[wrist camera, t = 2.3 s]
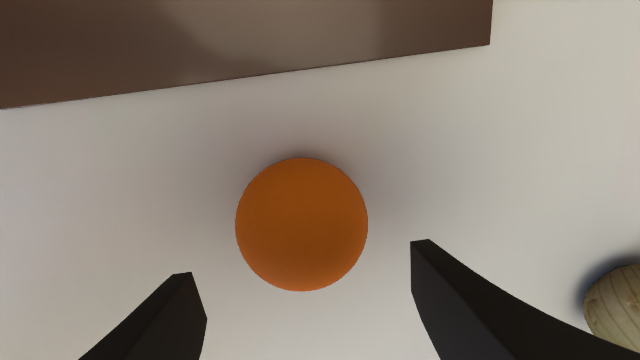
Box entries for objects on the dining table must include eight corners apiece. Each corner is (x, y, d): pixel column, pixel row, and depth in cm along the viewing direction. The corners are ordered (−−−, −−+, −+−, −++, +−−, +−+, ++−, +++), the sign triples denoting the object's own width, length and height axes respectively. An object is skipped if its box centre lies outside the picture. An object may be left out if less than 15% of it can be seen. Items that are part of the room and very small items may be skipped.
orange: (233, 149, 16) (205, 204, 11) (351, 133, 16) (377, 180, 11) (256, 248, 18) (241, 332, 13) (360, 234, 18) (384, 311, 13)
